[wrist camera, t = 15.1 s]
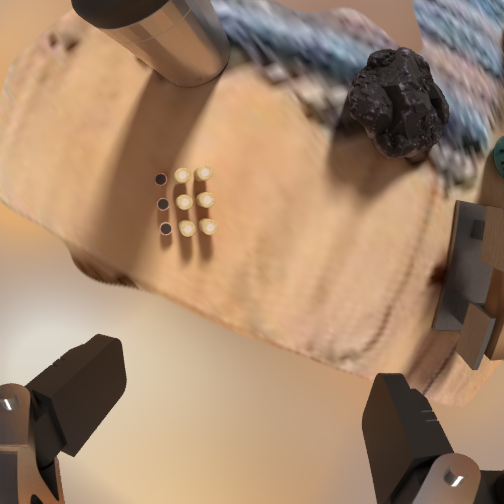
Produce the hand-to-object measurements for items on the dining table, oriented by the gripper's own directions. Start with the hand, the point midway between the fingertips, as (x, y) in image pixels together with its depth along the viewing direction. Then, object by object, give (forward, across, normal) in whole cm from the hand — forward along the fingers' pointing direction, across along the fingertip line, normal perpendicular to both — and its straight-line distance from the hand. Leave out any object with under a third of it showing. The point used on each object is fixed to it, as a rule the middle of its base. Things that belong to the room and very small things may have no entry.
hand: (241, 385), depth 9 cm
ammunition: (+28, +11, -3) cm, 31 cm away
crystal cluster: (+28, -13, -17) cm, 35 cm away
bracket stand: (+28, -26, +2) cm, 38 cm away
